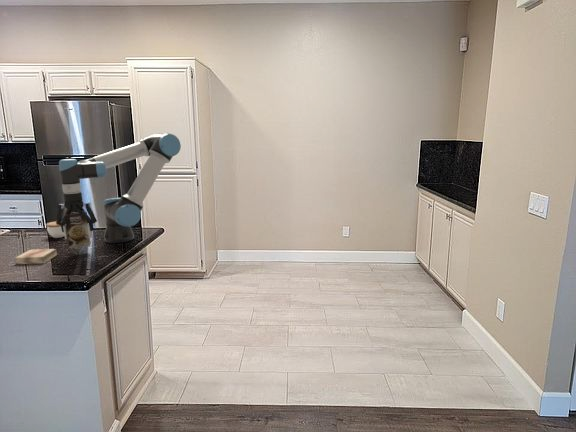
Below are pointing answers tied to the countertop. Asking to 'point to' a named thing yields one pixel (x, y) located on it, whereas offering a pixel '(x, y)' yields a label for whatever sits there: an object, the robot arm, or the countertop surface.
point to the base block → (36, 256)
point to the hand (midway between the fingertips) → (79, 237)
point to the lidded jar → (55, 230)
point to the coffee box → (77, 230)
